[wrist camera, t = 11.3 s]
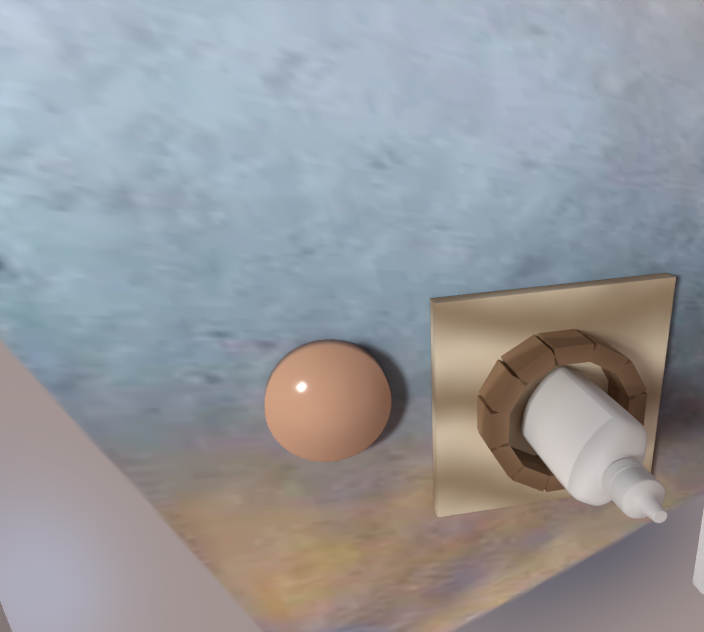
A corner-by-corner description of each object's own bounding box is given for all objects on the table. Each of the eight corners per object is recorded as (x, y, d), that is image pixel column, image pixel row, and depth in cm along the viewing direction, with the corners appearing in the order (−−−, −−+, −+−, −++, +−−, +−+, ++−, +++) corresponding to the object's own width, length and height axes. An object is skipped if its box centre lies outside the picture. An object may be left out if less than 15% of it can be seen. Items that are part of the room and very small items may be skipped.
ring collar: (430, 298, 38) (446, 317, 35) (666, 272, 40) (702, 288, 37) (434, 508, 44) (448, 541, 40) (641, 477, 45) (670, 506, 42)
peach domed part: (239, 388, 39) (237, 399, 37) (338, 313, 38) (341, 321, 36) (315, 469, 41) (317, 483, 40) (410, 401, 40) (415, 412, 39)
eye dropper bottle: (500, 404, 40) (592, 522, 29) (569, 354, 40) (691, 455, 29) (531, 447, 42) (631, 574, 31) (599, 400, 41) (725, 511, 30)
